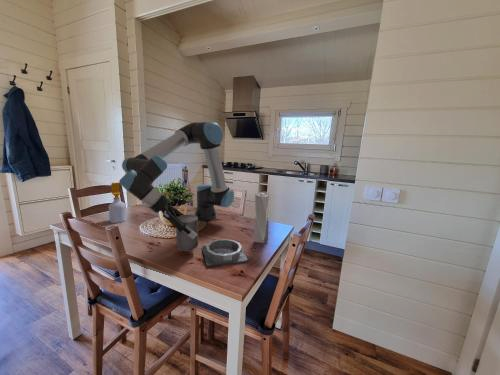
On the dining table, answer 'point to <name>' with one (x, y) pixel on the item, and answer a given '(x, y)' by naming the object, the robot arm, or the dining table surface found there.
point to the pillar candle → (183, 239)
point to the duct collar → (223, 253)
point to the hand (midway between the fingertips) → (194, 232)
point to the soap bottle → (117, 206)
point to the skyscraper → (261, 218)
